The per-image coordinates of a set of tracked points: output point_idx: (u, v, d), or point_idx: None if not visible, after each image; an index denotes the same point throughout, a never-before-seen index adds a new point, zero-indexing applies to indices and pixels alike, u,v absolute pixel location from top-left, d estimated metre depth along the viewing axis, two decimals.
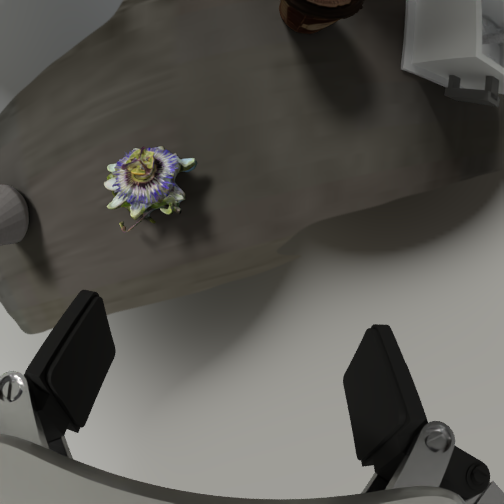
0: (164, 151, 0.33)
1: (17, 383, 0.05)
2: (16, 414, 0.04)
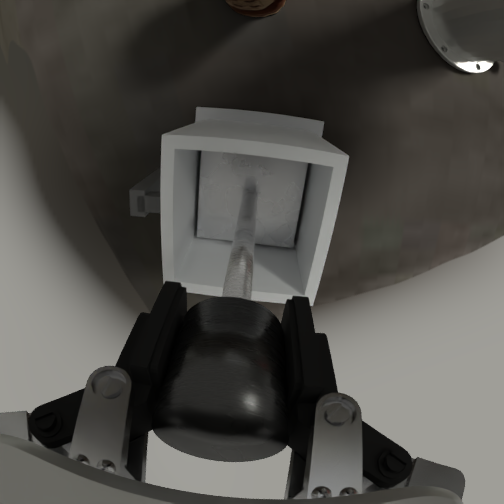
0: None
1: (118, 381, 0.06)
2: (105, 414, 0.05)
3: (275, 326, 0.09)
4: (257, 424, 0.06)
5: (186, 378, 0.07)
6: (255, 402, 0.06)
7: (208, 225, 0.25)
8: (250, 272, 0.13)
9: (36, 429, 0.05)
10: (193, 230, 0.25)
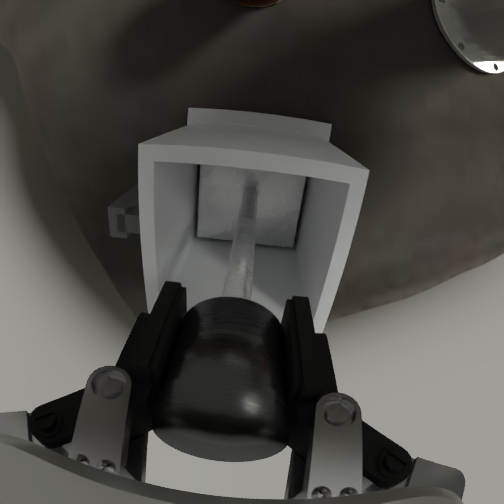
0: None
1: (118, 380, 0.06)
2: (105, 414, 0.05)
3: (275, 326, 0.09)
4: (257, 424, 0.06)
5: (186, 378, 0.07)
6: (255, 402, 0.06)
7: (208, 225, 0.25)
8: (250, 272, 0.13)
9: (36, 429, 0.05)
10: (184, 249, 0.22)
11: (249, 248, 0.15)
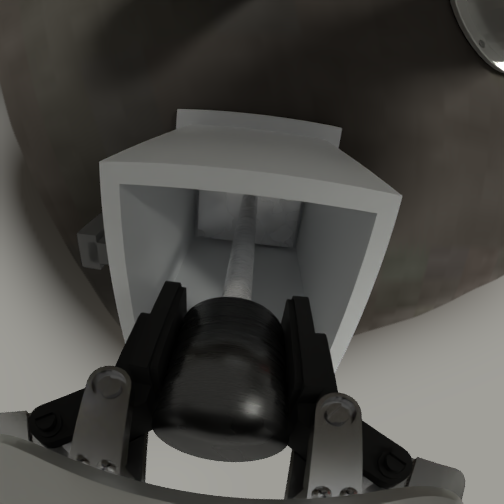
0: None
1: (118, 380, 0.06)
2: (105, 413, 0.05)
3: (275, 326, 0.09)
4: (258, 424, 0.06)
5: (186, 378, 0.07)
6: (255, 402, 0.06)
7: (208, 225, 0.25)
8: (250, 272, 0.13)
9: (36, 429, 0.05)
10: (171, 276, 0.19)
11: (249, 248, 0.15)
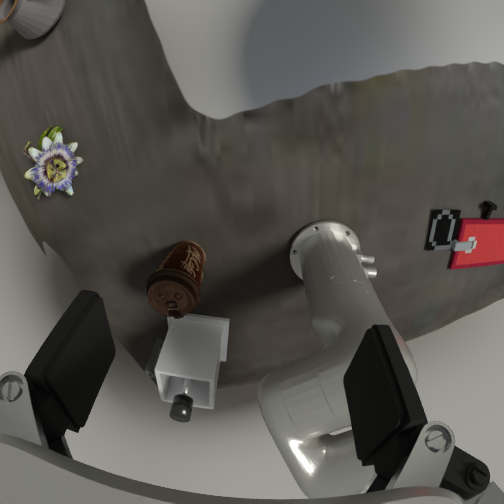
0: (72, 175, 0.41)
1: (16, 383, 0.05)
2: (16, 414, 0.04)
3: (190, 399, 0.47)
4: (184, 415, 0.44)
5: (174, 408, 0.44)
6: (183, 412, 0.44)
7: None
8: (189, 383, 0.51)
9: None
10: None
11: None
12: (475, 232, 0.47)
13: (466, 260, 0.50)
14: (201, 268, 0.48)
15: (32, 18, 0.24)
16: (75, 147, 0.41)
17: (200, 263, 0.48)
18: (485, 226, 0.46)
